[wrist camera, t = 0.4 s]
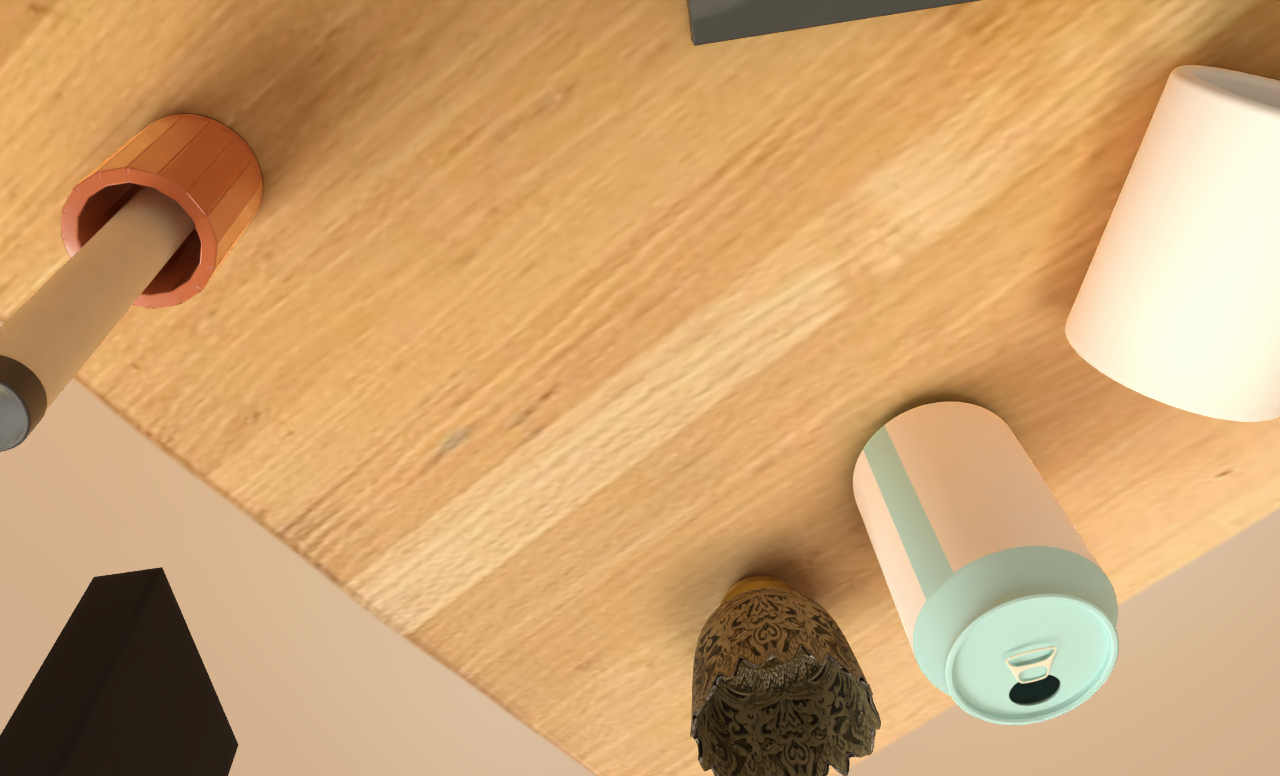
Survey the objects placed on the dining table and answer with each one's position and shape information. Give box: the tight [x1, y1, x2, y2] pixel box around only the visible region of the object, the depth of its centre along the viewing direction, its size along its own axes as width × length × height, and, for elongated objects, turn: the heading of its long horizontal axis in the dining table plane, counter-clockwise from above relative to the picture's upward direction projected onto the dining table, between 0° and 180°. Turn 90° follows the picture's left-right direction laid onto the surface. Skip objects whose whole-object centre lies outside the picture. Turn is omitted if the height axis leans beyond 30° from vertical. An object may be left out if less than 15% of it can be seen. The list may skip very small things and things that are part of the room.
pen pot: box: [61, 114, 263, 309], centre depth 37 cm, size 5×5×6 cm
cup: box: [690, 576, 881, 776], centre depth 47 cm, size 8×7×8 cm
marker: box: [0, 186, 195, 452], centre depth 32 cm, size 2×2×16 cm
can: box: [853, 402, 1119, 725], centre depth 42 cm, size 7×7×12 cm
